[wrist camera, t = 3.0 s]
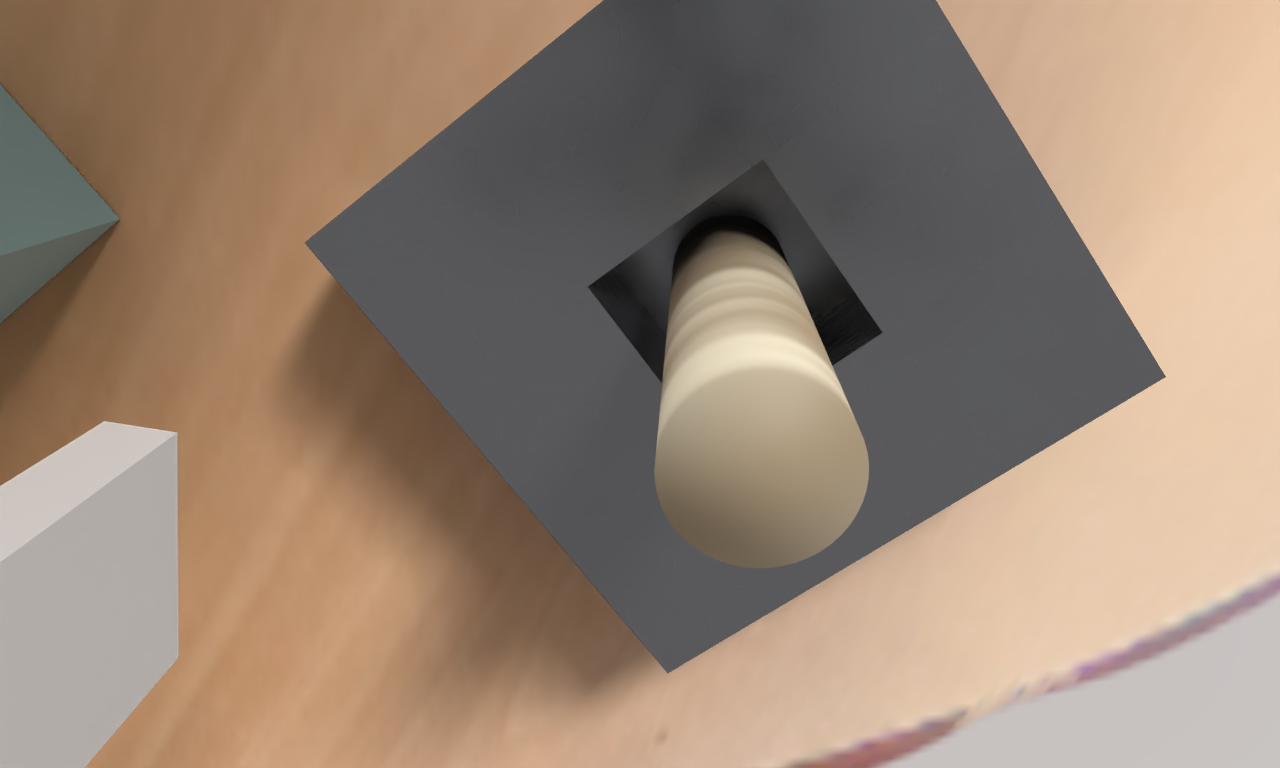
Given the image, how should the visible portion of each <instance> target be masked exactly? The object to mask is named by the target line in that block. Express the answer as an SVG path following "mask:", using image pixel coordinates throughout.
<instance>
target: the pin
mask: <svg viewBox="0 0 1280 768" xmlns="http://www.w3.org/2000/svg"><path fill="white" fill-rule="evenodd" d="M654 473H655V486H656V491H657V496H658V499H659V502H660V504H661V507H662V509H663V511H664V513H665V515H666V517H667V519H668V520H669V522H670V523H671V525H672V526H673V528H674V529H675V530H676V531H677V532H678V533H679V535H680V536H681V537H682V538H683V539H684V540H685V541H687V542H688V543H689V544H690V545H691V546H693V547H694V548H696V549H697V550H699V551H700V552H702V553H703V554H705V555H707V556H709V557H711V558H713V559H715V560H718V561H721V562H724V563H727V564H730V565H735V566H739V567H747V568H773V567H781V566H785V565H789V564H793V563H797V562H799V561H802V560H804V559H807V558H809V557H811V556H813V555H815V554H817V553H819V552H820V551H822V550H823V549H825V548H826V547H828V546H829V545H831V544H832V543H833V542H834V541H835V540H836V539H837V538H839V537H840V536H841V535H842V534H843V532H844V531H845V530H846V529H847V528H848V527H849V526H850V524H851V523H852V521H853V520H854V518H855V517H856V515H857V513H858V511H859V509H860V507H861V505H862V503H863V500H864V497H865V494H866V490H867V485H868V479H869V461H868V452H867V449H866V445H865V441H864V438H863V436H862V434H861V431H860V429H859V427H858V424H857V422H856V420H855V417H854V415H853V413H852V410H851V408H850V406H849V403H848V401H847V399H846V396H845V394H844V392H843V389H842V387H841V385H840V383H839V380H838V378H837V376H836V373H835V371H834V369H833V366H832V364H831V362H830V359H829V357H828V355H827V352H826V350H825V348H824V345H823V343H822V341H821V338H820V336H819V334H818V331H817V329H816V327H815V325H814V322H813V320H812V318H811V315H810V313H809V311H808V308H807V306H806V304H805V301H804V299H803V297H802V294H801V292H800V290H799V287H798V285H797V283H796V280H795V278H794V276H793V273H792V271H791V269H790V267H789V264H788V262H787V260H786V257H785V255H784V253H783V250H782V248H781V246H780V244H779V242H778V240H777V239H776V237H775V236H774V235H773V234H772V232H771V231H770V230H768V229H767V228H766V227H765V226H764V225H762V224H761V223H759V222H757V221H755V220H753V219H751V218H748V217H745V216H740V215H721V216H716V217H713V218H709V219H707V220H705V221H703V222H701V223H700V224H698V225H696V226H695V227H694V228H693V229H692V230H690V231H689V232H688V234H687V235H686V236H685V237H684V238H683V240H682V241H681V243H680V245H679V247H678V248H677V251H676V254H675V257H674V261H673V271H672V282H671V293H670V304H669V315H668V326H667V337H666V348H665V359H664V370H663V381H662V392H661V403H660V414H659V425H658V436H657V447H656V458H655V469H654Z"/></svg>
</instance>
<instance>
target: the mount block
mask: <svg viewBox="0 0 1280 768" xmlns="http://www.w3.org/2000/svg"><path fill="white" fill-rule="evenodd" d="M721 215H740V216H745V217H748V218H751V219H753V220H755V221H757V222H759V223H761V224H762V225H764V226H765V227H766V228H767V229H768V230H770V231H771V232H772V234H773V235H774V236H775V237H776V239H777V240H778V242H779V244H780V246H781V248H782V250H783V253H784V255H785V257H786V260H787V262H788V264H789V267H790V269H791V271H792V273H793V276H794V278H795V280H796V283H797V285H798V287H799V290H800V292H801V294H802V297H803V299H804V301H805V304H806V306H807V308H808V311H809V313H810V315H811V318H812V320H813V322H814V325H815V327H816V329H817V331H818V334H819V336H820V338H821V341H822V343H823V345H824V348H825V350H826V352H827V355H828V357H829V359H830V362H831V364H832V366H833V369H834V371H835V373H836V376H837V378H838V380H839V383H840V385H841V387H842V389H843V392H844V394H845V396H846V399H847V401H848V403H849V406H850V408H851V410H852V413H853V415H854V417H855V420H856V422H857V424H858V427H859V429H860V431H861V434H862V436H863V438H864V441H865V445H866V449H867V452H868V461H869V479H868V485H867V490H866V494H865V497H864V500H863V503H862V505H861V507H860V509H859V511H858V513H857V515H856V517H855V518H854V520H853V521H852V523H851V524H850V526H849V527H848V528H847V529H846V530H845V531H844V532H843V534H842V535H841V536H840V537H839V538H837V539H836V540H835V541H834V542H833V543H832V544H831V545H829V546H828V547H826V548H825V549H823V550H822V551H820V552H819V553H817V554H815V555H813V556H811V557H809V558H807V559H804V560H802V561H799V562H797V563H793V564H789V565H785V566H781V567H773V568H747V567H739V566H735V565H730V564H727V563H724V562H721V561H718V560H715V559H713V558H711V557H709V556H707V555H705V554H703V553H702V552H700V551H699V550H697V549H696V548H694V547H693V546H691V545H690V544H689V543H688V542H687V541H685V540H684V539H683V538H682V537H681V536H680V535H679V533H678V532H677V531H676V530H675V529H674V528H673V526H672V525H671V523H670V522H669V520H668V519H667V517H666V515H665V513H664V511H663V509H662V507H661V504H660V502H659V499H658V496H657V491H656V486H655V473H654V469H655V458H656V447H657V436H658V425H659V414H660V403H661V392H662V381H663V370H664V359H665V348H666V337H667V326H668V315H669V304H670V293H671V282H672V271H673V261H674V257H675V254H676V251H677V248H678V247H679V245H680V243H681V241H682V240H683V238H684V237H685V236H686V235H687V234H688V232H689V231H690V230H692V229H693V228H694V227H695V226H696V225H698V224H700V223H701V222H703V221H705V220H707V219H709V218H713V217H716V216H721ZM305 244H306V245H307V246H308V247H309V248H310V250H311V251H312V252H313V253H314V254H315V256H316V257H317V258H318V259H319V260H320V262H321V263H322V264H323V265H324V266H325V267H326V269H327V270H328V271H329V272H330V273H331V275H332V276H333V277H334V278H335V279H336V280H337V282H338V283H339V284H340V285H341V286H342V288H343V289H344V290H345V291H346V292H347V294H348V295H349V296H350V297H351V298H352V299H353V301H354V302H355V303H356V304H357V305H358V307H359V308H360V309H361V310H362V311H363V313H364V314H365V315H366V316H367V317H368V318H369V320H370V321H371V322H372V323H373V324H374V326H375V327H376V328H377V329H378V330H379V331H380V333H381V334H382V335H383V336H384V337H385V339H386V340H387V341H388V342H389V343H390V345H391V346H392V347H393V348H394V349H395V350H396V352H397V353H398V354H399V355H400V356H401V358H402V359H403V360H404V361H405V362H406V364H407V365H408V366H409V367H410V368H411V369H412V371H413V372H414V373H415V374H416V375H417V377H418V378H419V379H420V380H421V381H422V382H423V384H424V385H425V386H426V387H427V388H428V390H429V391H430V392H431V393H432V394H433V396H434V397H435V398H436V399H437V400H438V401H439V403H440V404H441V405H442V406H443V407H444V409H445V410H446V411H447V412H448V413H449V415H450V416H451V417H452V418H453V419H454V420H455V422H456V423H457V424H458V425H459V426H460V428H461V429H462V430H463V431H464V432H465V433H466V435H467V436H468V437H469V438H470V439H471V441H472V442H473V443H474V444H475V445H476V447H477V448H478V449H479V450H480V451H481V452H482V454H483V455H484V456H485V457H486V458H487V460H488V461H489V462H490V463H491V464H492V465H493V467H494V468H495V469H496V470H497V471H498V473H499V474H500V475H501V476H502V477H503V479H504V480H505V481H506V482H507V483H508V484H509V486H510V487H511V488H512V489H513V490H514V492H515V493H516V494H517V495H518V496H519V498H520V499H521V500H522V501H523V502H524V503H525V505H526V506H527V507H528V508H529V509H530V511H531V512H532V513H533V514H534V515H535V516H536V518H537V519H538V520H539V521H540V522H541V524H542V525H543V526H544V527H545V528H546V530H547V531H548V532H549V533H550V534H551V535H552V537H553V538H554V539H555V540H556V541H557V543H558V544H559V545H560V546H561V547H562V549H563V550H564V551H565V552H566V553H567V554H568V556H569V557H570V558H571V559H572V560H573V562H574V563H575V564H576V565H577V566H578V567H579V569H580V570H581V571H582V572H583V573H584V575H585V576H586V577H587V578H588V579H589V581H590V582H591V583H592V584H593V585H594V586H595V588H596V589H597V590H598V591H599V592H600V594H601V595H602V596H603V597H604V598H605V599H606V601H607V602H608V603H609V604H610V605H611V607H612V608H613V609H614V610H615V611H616V613H617V614H618V615H619V616H620V617H621V618H622V620H623V621H624V622H625V623H626V624H627V626H628V627H629V628H630V629H631V630H632V632H633V633H634V634H635V635H636V636H637V637H638V639H639V640H640V641H641V642H642V643H643V645H644V646H645V647H646V648H647V649H648V650H649V652H650V653H651V654H652V655H653V656H654V658H655V659H656V660H657V661H658V662H659V664H660V665H661V666H662V667H663V668H664V669H665V671H666V672H667V673H669V672H671V671H672V670H674V669H676V668H677V667H679V666H681V665H682V664H684V663H686V662H687V661H689V660H691V659H693V658H694V657H696V656H698V655H699V654H701V653H703V652H704V651H706V650H708V649H709V648H711V647H713V646H714V645H716V644H718V643H719V642H721V641H723V640H724V639H726V638H728V637H730V636H731V635H733V634H735V633H736V632H738V631H740V630H741V629H743V628H745V627H746V626H748V625H750V624H751V623H753V622H755V621H756V620H758V619H760V618H761V617H763V616H765V615H766V614H768V613H770V612H772V611H773V610H775V609H777V608H778V607H780V606H782V605H783V604H785V603H787V602H788V601H790V600H792V599H793V598H795V597H797V596H798V595H800V594H802V593H803V592H805V591H807V590H809V589H810V588H812V587H814V586H815V585H817V584H819V583H820V582H822V581H824V580H825V579H827V578H829V577H830V576H832V575H834V574H835V573H837V572H839V571H840V570H842V569H844V568H845V567H847V566H849V565H851V564H852V563H854V562H856V561H857V560H859V559H861V558H862V557H864V556H866V555H867V554H869V553H871V552H872V551H874V550H876V549H877V548H879V547H881V546H882V545H884V544H886V543H888V542H889V541H891V540H893V539H894V538H896V537H898V536H899V535H901V534H903V533H904V532H906V531H908V530H909V529H911V528H913V527H914V526H916V525H918V524H919V523H921V522H923V521H924V520H926V519H928V518H930V517H931V516H933V515H935V514H936V513H938V512H940V511H941V510H943V509H945V508H946V507H948V506H950V505H951V504H953V503H955V502H956V501H958V500H960V499H961V498H963V497H965V496H966V495H968V494H970V493H972V492H973V491H975V490H977V489H978V488H980V487H982V486H983V485H985V484H987V483H988V482H990V481H992V480H993V479H995V478H997V477H998V476H1000V475H1002V474H1003V473H1005V472H1007V471H1009V470H1010V469H1012V468H1014V467H1015V466H1017V465H1019V464H1020V463H1022V462H1024V461H1025V460H1027V459H1029V458H1030V457H1032V456H1034V455H1035V454H1037V453H1039V452H1040V451H1042V450H1044V449H1045V448H1047V447H1049V446H1051V445H1052V444H1054V443H1056V442H1057V441H1059V440H1061V439H1062V438H1064V437H1066V436H1067V435H1069V434H1071V433H1072V432H1074V431H1076V430H1077V429H1079V428H1081V427H1082V426H1084V425H1086V424H1088V423H1089V422H1091V421H1093V420H1094V419H1096V418H1098V417H1099V416H1101V415H1103V414H1104V413H1106V412H1108V411H1109V410H1111V409H1113V408H1114V407H1116V406H1118V405H1119V404H1121V403H1123V402H1124V401H1126V400H1128V399H1130V398H1131V397H1133V396H1135V395H1136V394H1138V393H1140V392H1141V391H1143V390H1145V389H1146V388H1148V387H1150V386H1151V385H1153V384H1155V383H1156V382H1158V381H1160V380H1161V379H1163V378H1165V377H1166V376H1165V375H1164V373H1163V372H1162V370H1161V368H1160V367H1159V365H1158V363H1157V362H1156V360H1155V358H1154V357H1153V355H1152V354H1151V352H1150V350H1149V349H1148V347H1147V345H1146V344H1145V342H1144V340H1143V339H1142V337H1141V336H1140V334H1139V332H1138V331H1137V329H1136V327H1135V326H1134V324H1133V322H1132V321H1131V319H1130V318H1129V316H1128V314H1127V313H1126V311H1125V309H1124V308H1123V306H1122V304H1121V303H1120V301H1119V300H1118V298H1117V296H1116V295H1115V293H1114V291H1113V290H1112V288H1111V286H1110V285H1109V283H1108V282H1107V280H1106V278H1105V277H1104V275H1103V273H1102V272H1101V270H1100V268H1099V267H1098V265H1097V263H1096V262H1095V260H1094V259H1093V257H1092V255H1091V254H1090V252H1089V250H1088V249H1087V247H1086V245H1085V244H1084V242H1083V241H1082V239H1081V237H1080V236H1079V234H1078V232H1077V231H1076V229H1075V227H1074V226H1073V224H1072V223H1071V221H1070V219H1069V218H1068V216H1067V214H1066V213H1065V211H1064V209H1063V208H1062V206H1061V205H1060V203H1059V201H1058V200H1057V198H1056V196H1055V195H1054V193H1053V191H1052V190H1051V188H1050V187H1049V185H1048V183H1047V182H1046V180H1045V178H1044V177H1043V175H1042V173H1041V172H1040V170H1039V169H1038V167H1037V165H1036V164H1035V162H1034V160H1033V159H1032V157H1031V155H1030V154H1029V152H1028V151H1027V149H1026V147H1025V146H1024V144H1023V142H1022V141H1021V139H1020V137H1019V136H1018V134H1017V133H1016V131H1015V129H1014V128H1013V126H1012V124H1011V123H1010V121H1009V119H1008V118H1007V116H1006V114H1005V113H1004V111H1003V110H1002V108H1001V106H1000V105H999V103H998V101H997V100H996V98H995V96H994V95H993V93H992V92H991V90H990V88H989V87H988V85H987V83H986V82H985V80H984V78H983V77H982V75H981V74H980V72H979V70H978V69H977V67H976V65H975V64H974V62H973V60H972V59H971V57H970V56H969V54H968V52H967V51H966V49H965V47H964V46H963V44H962V42H961V41H960V39H959V38H958V36H957V34H956V33H955V31H954V29H953V28H952V26H951V24H950V23H949V21H948V20H947V18H946V16H945V15H944V13H943V11H942V10H941V8H940V6H939V5H938V3H937V2H936V0H604V1H602V2H601V3H600V4H599V5H597V6H596V7H595V8H594V9H592V10H591V11H590V12H589V13H587V14H586V15H585V16H584V17H583V18H581V19H580V20H579V21H578V22H576V23H575V24H574V25H573V26H571V27H570V28H569V29H568V30H566V31H565V32H564V33H563V34H562V35H560V36H559V37H558V38H557V39H555V40H554V41H553V42H552V43H550V44H549V45H548V46H547V47H545V48H544V49H543V50H542V51H541V52H539V53H538V54H537V55H536V56H534V57H533V58H532V59H531V60H529V61H528V62H527V63H526V64H524V65H523V66H522V67H521V68H520V69H518V70H517V71H516V72H515V73H513V74H512V75H511V76H510V77H508V78H507V79H506V80H505V81H503V82H502V83H501V84H500V85H499V86H497V87H496V88H495V89H494V90H492V91H491V92H490V93H489V94H487V95H486V96H485V97H484V98H483V99H481V100H480V101H479V102H478V103H476V104H475V105H474V106H473V107H471V108H470V109H469V110H468V111H466V112H465V113H464V114H463V115H462V116H460V117H459V118H458V119H457V120H455V121H454V122H453V123H452V124H450V125H449V126H448V127H447V128H445V129H444V130H443V131H442V132H441V133H439V134H438V135H437V136H436V137H434V138H433V139H432V140H431V141H429V142H428V143H427V144H426V145H424V146H423V147H422V148H421V149H420V150H418V151H417V152H416V153H415V154H413V155H412V156H411V157H410V158H408V159H407V160H406V161H405V162H403V163H402V164H401V165H400V166H399V167H397V168H396V169H395V170H394V171H392V172H391V173H390V174H389V175H387V176H386V177H385V178H384V179H382V180H381V181H380V182H379V183H378V184H376V185H375V186H374V187H373V188H371V189H370V190H369V191H368V192H366V193H365V194H364V195H363V196H361V197H360V198H359V199H358V200H357V201H355V202H354V203H353V204H352V205H350V206H349V207H348V208H347V209H345V210H344V211H343V212H342V213H341V214H339V215H338V216H337V217H336V218H334V219H333V220H332V221H331V222H329V223H328V224H327V225H326V226H324V227H323V228H322V229H321V230H320V231H318V232H317V233H316V234H315V235H313V236H312V237H311V238H310V239H308V240H307V241H306V242H305Z"/></svg>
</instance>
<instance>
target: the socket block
mask: <svg viewBox="0 0 1280 768" xmlns="http://www.w3.org/2000/svg"><path fill="white" fill-rule="evenodd" d="M119 220H120V218H119V217H118V216H117V215H116V214H115V212H114V211H113V210H112V209H111V208H110V207H109V206H108V205H107V203H106V202H105V201H104V200H103V199H102V198H101V197H100V196H99V194H98V193H97V192H96V191H95V190H94V189H93V188H92V187H91V186H90V184H89V183H88V182H87V181H86V180H85V179H84V178H83V177H82V175H81V174H80V173H79V172H78V171H77V170H76V169H75V168H74V166H73V165H72V164H71V163H70V162H69V161H68V160H67V159H66V157H65V156H64V155H63V154H62V153H61V152H60V151H59V150H58V149H57V147H56V146H55V145H54V144H53V143H52V142H51V141H50V140H49V138H48V137H47V136H46V135H45V134H44V133H43V132H42V131H41V129H40V128H39V127H38V126H37V125H36V124H35V123H34V122H33V120H32V119H31V118H30V117H29V116H28V115H27V114H26V113H25V112H24V110H23V109H22V108H21V107H20V106H19V105H18V104H17V103H16V101H15V100H14V99H13V98H12V97H11V96H10V95H9V94H8V92H7V91H6V90H5V89H4V88H3V87H2V86H1V85H0V323H1V322H3V321H4V320H5V319H6V318H7V317H8V316H9V315H11V314H12V313H13V312H14V311H15V310H16V309H18V308H19V307H20V306H21V305H22V304H23V303H24V302H26V301H27V300H28V299H29V298H30V297H31V296H32V295H34V294H35V293H36V292H37V291H38V290H39V289H40V288H42V287H43V286H44V285H45V284H46V283H47V282H49V281H50V280H51V279H52V278H53V277H54V276H55V275H57V274H58V273H59V272H60V271H61V270H62V269H63V268H65V267H66V266H67V265H68V264H69V263H70V262H71V261H73V260H74V259H75V258H76V257H77V256H78V255H80V254H81V253H82V252H83V251H84V250H85V249H86V248H88V247H89V246H90V245H91V244H92V243H93V242H94V241H96V240H97V239H98V238H99V237H100V236H101V235H102V234H104V233H105V232H106V231H107V230H108V229H109V228H110V227H112V226H113V225H114V224H115V223H116V222H117V221H119Z"/></svg>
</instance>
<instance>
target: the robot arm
mask: <svg viewBox="0 0 1280 768" xmlns="http://www.w3.org/2000/svg"><path fill="white" fill-rule="evenodd" d="M178 657H179V638H178V463H177V432H171V431H165V430H158V429H152V428H145V427H139V426H132V425H126V424H120V423H113V422H107V421H104V422H102V423H101V424H99V425H97V426H96V427H94V428H93V429H91V430H89V431H88V432H86V433H85V434H83V435H81V436H80V437H78V438H77V439H75V440H73V441H72V442H70V443H69V444H67V445H65V446H64V447H62V448H60V449H59V450H57V451H56V452H54V453H52V454H51V455H49V456H48V457H46V458H44V459H43V460H41V461H40V462H38V463H36V464H35V465H33V466H32V467H30V468H28V469H27V470H25V471H24V472H22V473H20V474H19V475H17V476H15V477H14V478H12V479H11V480H9V481H7V482H6V483H4V484H3V485H1V486H0V768H85V767H86V765H87V764H88V763H89V762H90V761H91V760H92V758H93V757H94V756H95V755H96V754H97V753H98V751H99V750H100V749H101V748H102V747H103V746H104V744H105V743H106V742H107V741H108V740H109V738H110V737H111V736H112V735H113V734H114V733H115V731H116V730H117V729H118V728H119V727H120V726H121V724H122V723H123V722H124V721H125V720H126V719H127V717H128V716H129V715H130V714H131V713H132V711H133V710H134V709H135V708H136V707H137V706H138V704H139V703H140V702H141V701H142V700H143V699H144V697H145V696H146V695H147V694H148V693H149V692H150V690H151V689H152V688H153V687H154V686H155V684H156V683H157V682H158V681H159V680H160V679H161V677H162V676H163V675H164V674H165V673H166V672H167V670H168V669H169V668H170V667H171V666H172V665H173V663H174V662H175V661H176V660H177V659H178Z"/></svg>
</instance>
